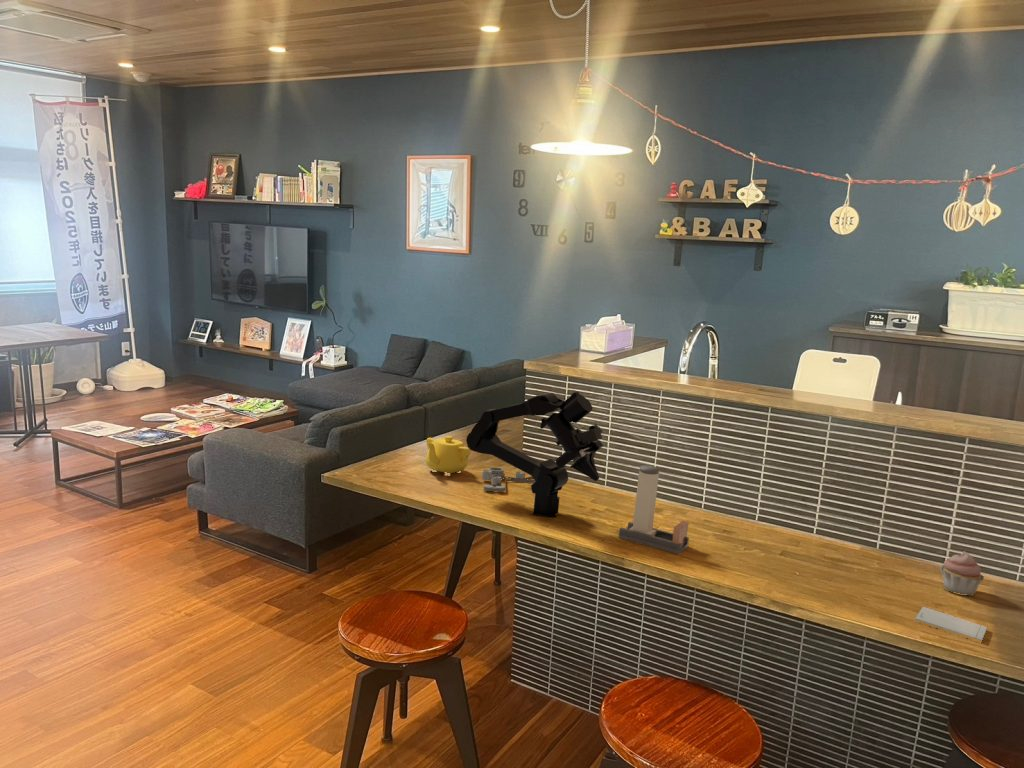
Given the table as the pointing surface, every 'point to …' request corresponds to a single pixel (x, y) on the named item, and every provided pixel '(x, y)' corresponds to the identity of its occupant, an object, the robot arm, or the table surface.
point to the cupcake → (961, 574)
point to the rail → (660, 538)
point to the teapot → (447, 455)
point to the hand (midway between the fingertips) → (597, 479)
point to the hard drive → (951, 623)
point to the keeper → (645, 500)
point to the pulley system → (498, 474)
